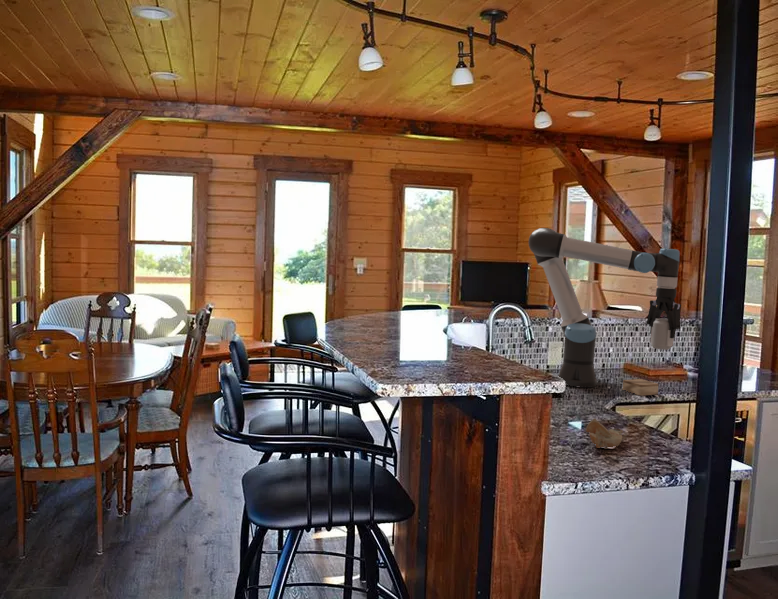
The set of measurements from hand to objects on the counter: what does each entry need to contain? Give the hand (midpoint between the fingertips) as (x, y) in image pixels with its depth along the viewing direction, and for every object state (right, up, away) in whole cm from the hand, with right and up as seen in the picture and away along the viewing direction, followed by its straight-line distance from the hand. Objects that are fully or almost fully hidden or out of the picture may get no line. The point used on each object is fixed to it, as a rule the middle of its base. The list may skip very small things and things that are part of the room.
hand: (661, 344), depth 283 cm
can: (0, -2, 0) cm, 2 cm away
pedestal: (-13, -18, -13) cm, 25 cm away
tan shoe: (-49, -23, -87) cm, 102 cm away
